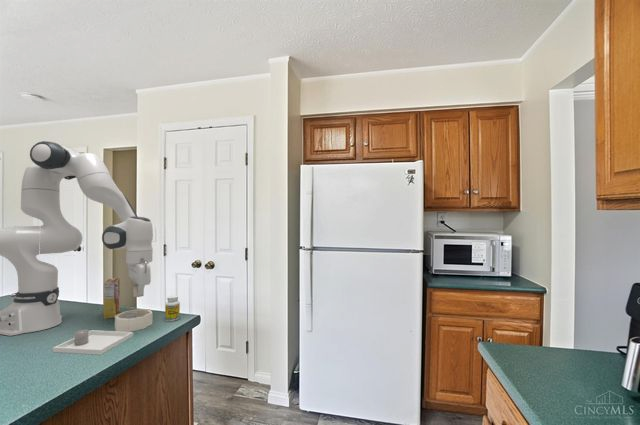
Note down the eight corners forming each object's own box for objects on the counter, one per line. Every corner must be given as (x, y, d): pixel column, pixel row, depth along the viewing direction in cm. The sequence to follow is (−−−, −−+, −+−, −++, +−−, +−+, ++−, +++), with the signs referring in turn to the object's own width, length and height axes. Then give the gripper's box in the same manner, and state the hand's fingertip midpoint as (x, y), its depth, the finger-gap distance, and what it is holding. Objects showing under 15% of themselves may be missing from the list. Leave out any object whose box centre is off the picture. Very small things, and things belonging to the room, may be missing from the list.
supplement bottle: (178, 316, 126) (179, 294, 126) (180, 320, 121) (180, 297, 121) (164, 318, 123) (165, 295, 123) (165, 322, 118) (166, 299, 119)
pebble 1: (71, 345, 95) (71, 333, 95) (81, 340, 99) (81, 329, 99) (81, 345, 95) (81, 333, 95) (91, 341, 99) (91, 329, 99)
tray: (52, 354, 91) (52, 347, 91) (91, 335, 105) (91, 330, 105) (100, 356, 89) (100, 350, 89) (133, 337, 103) (133, 332, 103)
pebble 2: (130, 297, 112) (130, 286, 112) (138, 294, 115) (138, 284, 116) (138, 297, 111) (138, 286, 111) (145, 295, 115) (146, 284, 115)
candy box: (108, 312, 130) (109, 278, 130) (119, 311, 131) (120, 277, 132) (102, 319, 121) (103, 282, 122) (114, 317, 123) (115, 281, 123)
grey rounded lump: (122, 326, 112) (122, 315, 112) (128, 322, 115) (128, 312, 115) (132, 326, 112) (132, 315, 112) (137, 322, 116) (137, 312, 116)
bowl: (107, 332, 108) (107, 318, 108) (130, 320, 120) (130, 308, 120) (137, 333, 107) (137, 320, 107) (157, 321, 119) (158, 309, 119)
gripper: (155, 259, 109) (155, 296, 108) (142, 254, 123) (142, 287, 123) (136, 261, 104) (135, 300, 104) (125, 256, 119) (124, 290, 119)
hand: (138, 293), depth 114 cm, fingers closed on pebble 2, 4 cm apart
